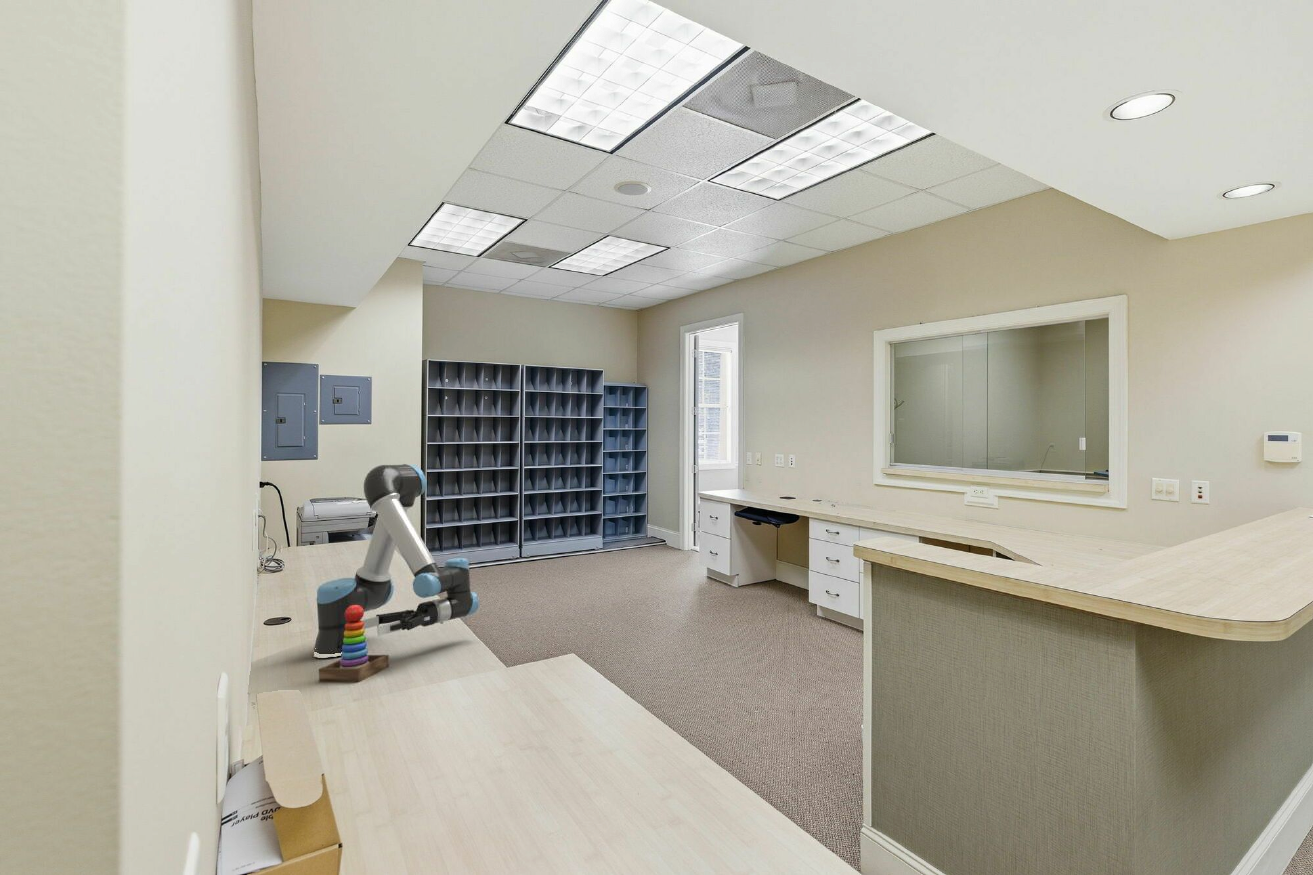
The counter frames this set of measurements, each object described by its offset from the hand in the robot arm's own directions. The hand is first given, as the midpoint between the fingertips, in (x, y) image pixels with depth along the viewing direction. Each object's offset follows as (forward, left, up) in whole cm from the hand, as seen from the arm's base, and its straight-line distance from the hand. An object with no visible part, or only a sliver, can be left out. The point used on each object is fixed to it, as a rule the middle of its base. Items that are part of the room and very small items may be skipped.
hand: (367, 628), depth 185 cm
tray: (+4, -2, -12) cm, 13 cm away
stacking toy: (+3, -2, -11) cm, 12 cm away
